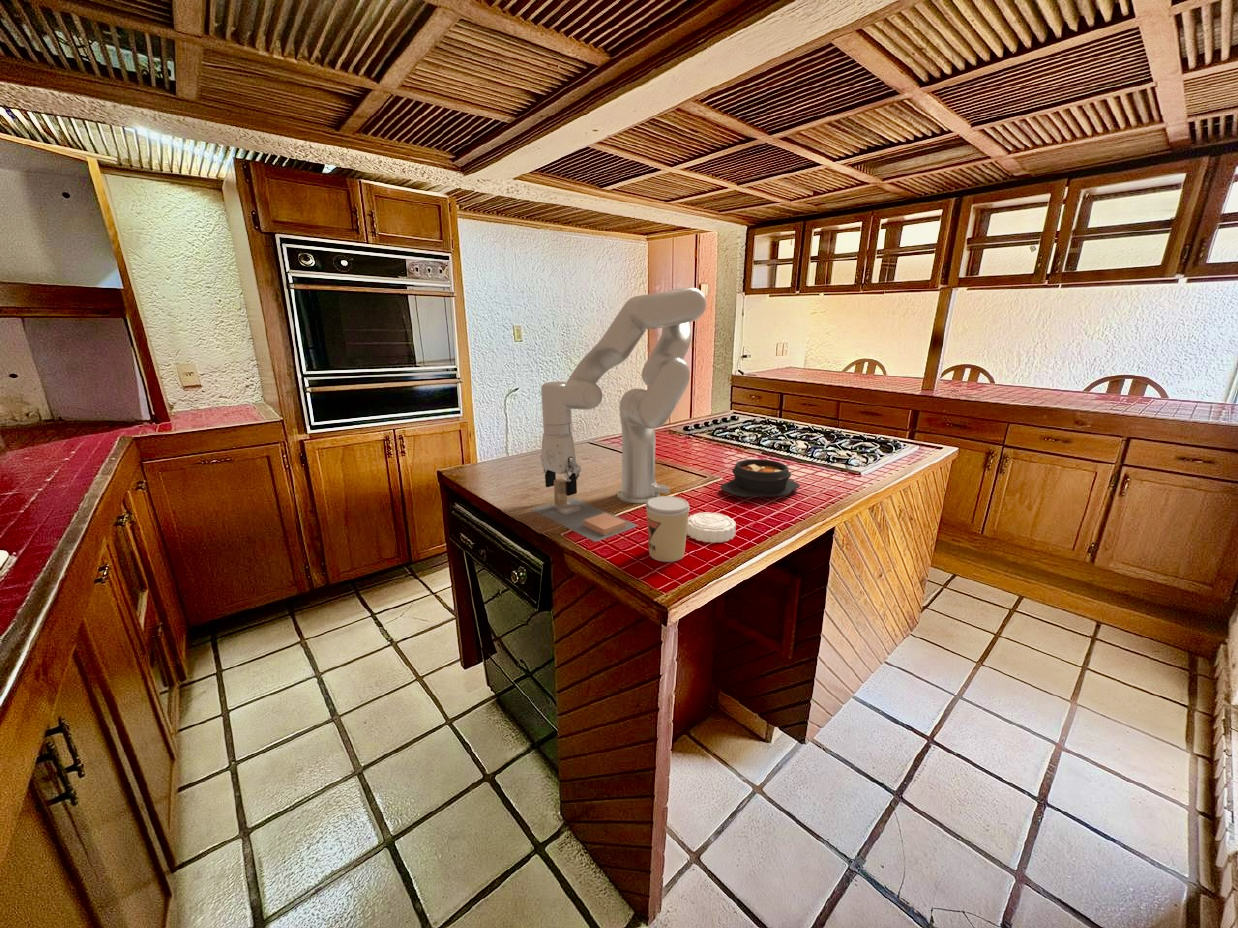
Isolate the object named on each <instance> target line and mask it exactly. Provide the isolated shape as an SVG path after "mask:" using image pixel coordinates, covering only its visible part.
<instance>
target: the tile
mask: <svg viewBox="0 0 1238 928" xmlns="http://www.w3.org/2000/svg"><path fill="white" fill-rule="evenodd" d="M584 526H585V527H587V528H590V529H592V530H594V531H596V532H598V533H600V534H602V535H604V536H605V535H608V534H611V533H614V532H616V531H619V530H622V529H624V528H626V522H625V521H623V520H621V519H618V518H616V517H614V516H611V515H609V514H607V513H603V514H600V515H597V516H594V517H591V518H588V519H585V520H584Z"/></svg>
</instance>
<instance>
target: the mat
mask: <svg viewBox="0 0 1238 928" xmlns="http://www.w3.org/2000/svg"><path fill="white" fill-rule="evenodd" d="M567 502H569V503H572V504H574V505H576V506H579V507H580V510H579V511H576V512H573V513H570V514H566V515H565V514H563V513H561V512H559V511H556V510H554V509H552V508H551V507H550V505H552V504H555V502H552V503H549V504H544V505H542V506H537V507H535V508H532V509H531V511H533V512H535V513H537V514H539V515H541V516H543V517H545V518H547V519H549V520H551V521H553V522H555V523H556V524H558V525H560V526H563V527H565V528H567V529H569V530H571V531H572V532H574V533H577V534H578V535H580V536H583V537H584V538H586V539H589V541H593V542H594V543H598V542H600V541H603V540H605V539H608V538H610V537H613V536H615V535H618V534H621V533H624V532H627V531H629V530H632V529H635V528H636V527H639V524H636V523H634V522H631V521H629V520H626V519H624V518H621V517H619V516H617V515H616V514H612V513H611V512H607V511H605V510H603V509H600V508H598V507H596V506H593V505H590V504H588V503H586V502H584V501H581V500H579V499H577V498H575V497H570V498H567ZM603 513H607V514H609V515H611V516H614V517H616V518H618V519H621V520H623V521H625V522H626V528H624V529H622V530H619V531H616V532H614V533H611V534H608V535H605V536H604V535H602V534H600V533H598V532H596V531H594V530H592V529H590V528H587V527H585V526H584V520H585V519H588V518H591V517H594V516H597V515H600V514H603Z"/></svg>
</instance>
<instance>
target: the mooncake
mask: <svg viewBox="0 0 1238 928" xmlns="http://www.w3.org/2000/svg"><path fill="white" fill-rule="evenodd" d="M736 528H737V523H736V521H735V520H734V519H733V518H731V517H730V516H728V515H726V514H722V513H721V512H720V513H718V512H708V511H705V512H698V513H693V514H692V515H691V514H690V515H688V525H687V534H686V536H689V537H690V538H691V539H695V540H696V541H700V542H703V543H711V544H712V543H713V544H715V543H723V542H729V541H730V540H733V539H734V538H735V537H736Z"/></svg>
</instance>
